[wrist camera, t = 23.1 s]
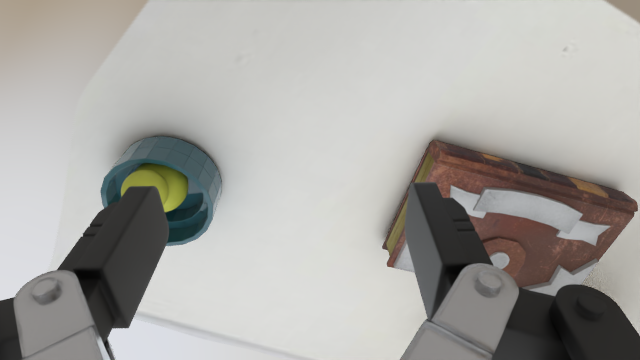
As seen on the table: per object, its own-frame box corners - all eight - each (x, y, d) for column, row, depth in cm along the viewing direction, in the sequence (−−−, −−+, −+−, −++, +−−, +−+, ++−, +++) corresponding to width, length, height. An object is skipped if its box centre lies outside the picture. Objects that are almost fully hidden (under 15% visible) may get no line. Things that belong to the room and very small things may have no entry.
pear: (134, 169, 42) (84, 183, 33) (180, 147, 42) (142, 154, 33) (159, 214, 43) (117, 240, 34) (204, 193, 43) (173, 212, 34)
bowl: (100, 158, 42) (76, 185, 38) (183, 117, 39) (167, 141, 35) (164, 227, 47) (149, 258, 43) (240, 195, 45) (233, 224, 41)
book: (614, 185, 45) (648, 209, 41) (542, 285, 52) (563, 314, 48) (429, 134, 42) (444, 155, 37) (377, 249, 49) (384, 277, 44)
